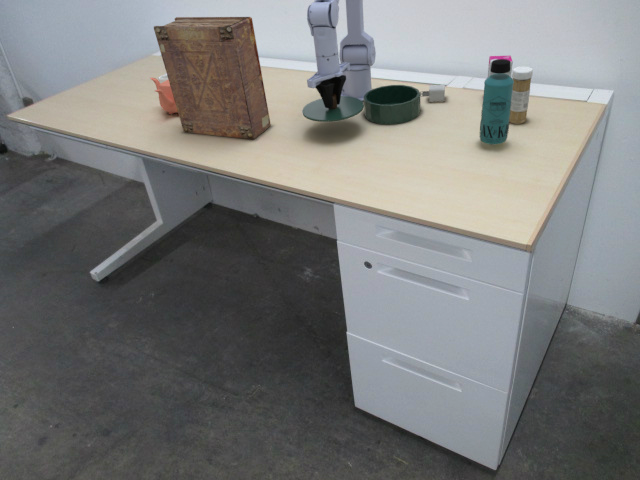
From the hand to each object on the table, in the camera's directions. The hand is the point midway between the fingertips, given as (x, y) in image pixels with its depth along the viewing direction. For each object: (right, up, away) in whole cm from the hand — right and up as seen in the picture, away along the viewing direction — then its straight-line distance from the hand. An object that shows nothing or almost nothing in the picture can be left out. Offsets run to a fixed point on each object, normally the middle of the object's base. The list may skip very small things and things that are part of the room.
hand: (332, 105), depth 136 cm
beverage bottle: (+38, -13, -13) cm, 42 cm away
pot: (+17, 0, +10) cm, 20 cm away
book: (-31, -3, +14) cm, 34 cm away
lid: (0, -1, +1) cm, 1 cm away
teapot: (-49, +6, +31) cm, 58 cm away
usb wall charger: (+30, +5, +14) cm, 33 cm away
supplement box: (+47, +4, +9) cm, 48 cm away
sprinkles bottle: (+48, -5, -4) cm, 48 cm away
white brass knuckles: (-54, +24, +57) cm, 83 cm away
